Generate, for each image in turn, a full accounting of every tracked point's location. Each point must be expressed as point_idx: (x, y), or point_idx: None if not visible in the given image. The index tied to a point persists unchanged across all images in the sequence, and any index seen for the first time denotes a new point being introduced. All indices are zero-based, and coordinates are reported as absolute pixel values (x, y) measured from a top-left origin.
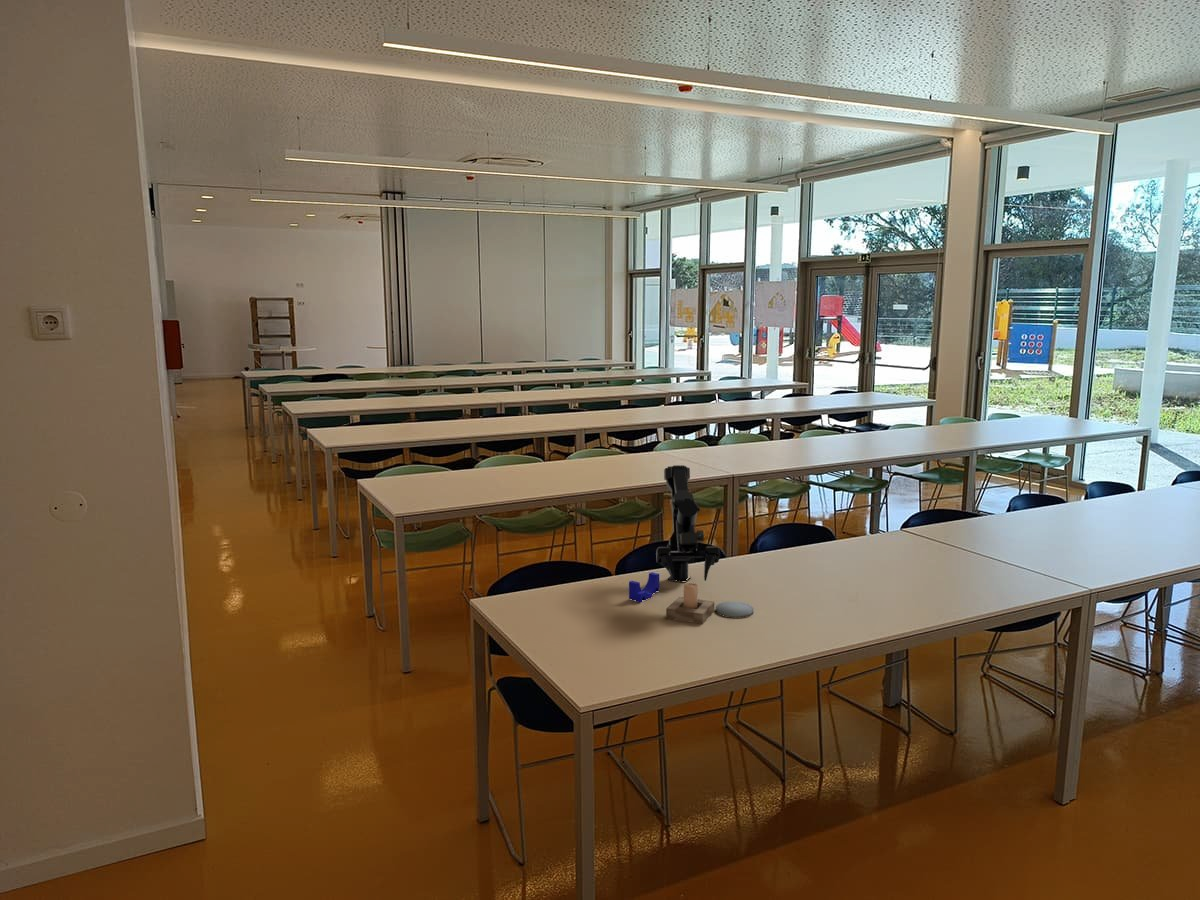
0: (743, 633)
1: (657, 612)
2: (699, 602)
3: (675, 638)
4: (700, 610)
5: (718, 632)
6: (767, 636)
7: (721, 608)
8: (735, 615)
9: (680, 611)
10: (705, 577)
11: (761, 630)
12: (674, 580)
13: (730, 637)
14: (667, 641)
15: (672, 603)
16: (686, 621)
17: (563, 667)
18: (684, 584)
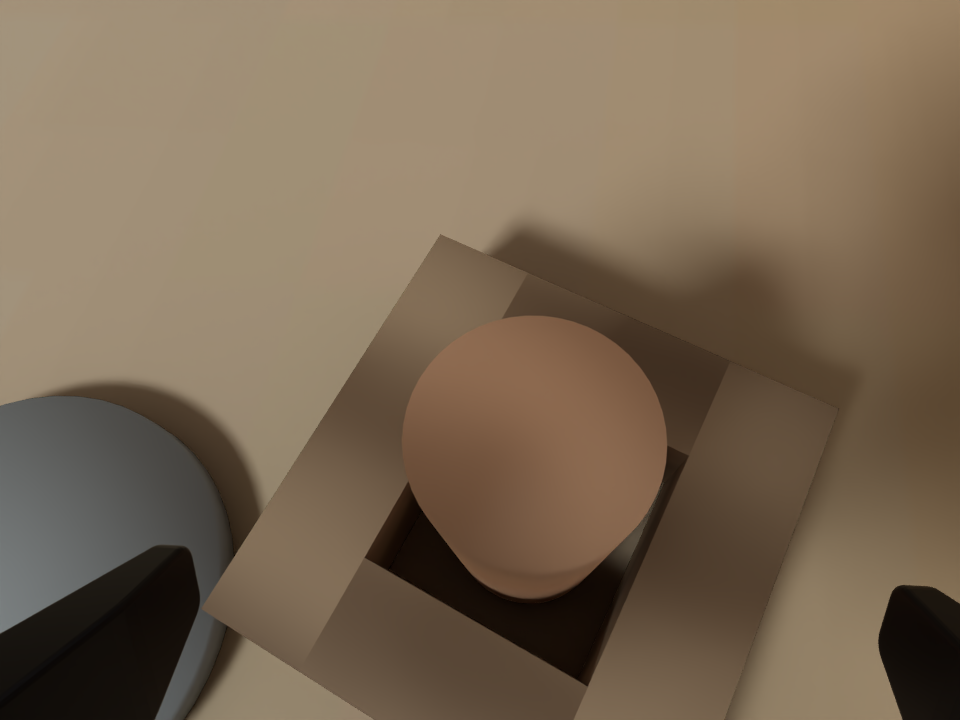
0: (186, 107)
1: None
2: (398, 590)
3: (708, 43)
4: (443, 325)
5: (363, 127)
6: (46, 59)
7: None
8: (96, 399)
9: (665, 337)
10: (155, 558)
11: (31, 150)
12: (892, 610)
13: (304, 50)
14: (769, 2)
15: (762, 581)
16: None
17: None
18: (648, 495)
